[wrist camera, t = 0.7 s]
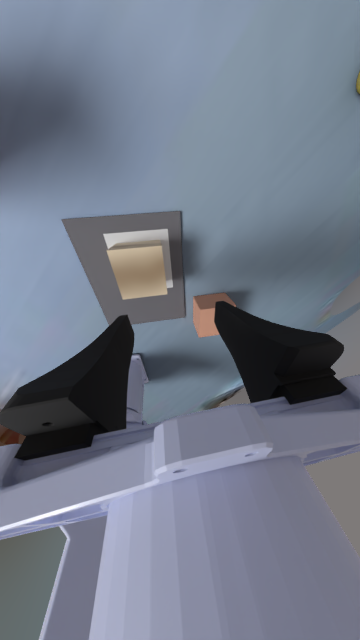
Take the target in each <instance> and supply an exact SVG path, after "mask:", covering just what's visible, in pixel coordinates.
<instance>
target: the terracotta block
mask: <svg viewBox="0 0 360 640" xmlns="http://www.w3.org/2000/svg"><path fill="white" fill-rule="evenodd" d="M217 301H225V302H227V303H229V304H231V305H233V306H235V307H236V304H235V303H234V302H233V301H232V300H231V299H230V298H229V297H228V296H227V295H226V293H218V294H210V295H202V296H193V323H194V325H195V328H196V331H197V333H198V336H199V337H206V336H213V335H220V334H219V332H218V330H217V328H216V325H215V323H214V316H215V304H216V302H217Z"/></svg>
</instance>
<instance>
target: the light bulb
mask: <svg viewBox="0 0 360 640" xmlns="http://www.w3.org/2000/svg"><path fill="white" fill-rule="evenodd" d="M356 89H357V92H358V93H359V94H360V72H359V74H358V78H357V83H356Z"/></svg>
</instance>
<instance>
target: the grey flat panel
mask: <svg viewBox="0 0 360 640" xmlns="http://www.w3.org/2000/svg"><path fill="white" fill-rule="evenodd" d="M61 220H62V222H63V224H64V226H65V229H66V231H67V233H68V235H69V237H70V240H71V242H72V244H73V246H74V249H75V251H76V253H77V255H78V257H79V260H80V262H81V264H82V266H83V268H84V271H85V273H86V275H87V277H88V279H89V282H90V284H91V286H92V288H93V290H94V293H95V295H96V297H97V299H98V301H99V304H100V306H101V308H102V310H103V313H104V315H105V317H106V319H107V321H108V324H109V326H110V325H111V324H112V323H113V322H114V321H115V319H116V318H117V317H119V316H120V315H128V318H129V321H130V323H131V325H132V324H139V323H147V322H154V321H161V320H169V319H176V318H184V317H185V308H184V286H183V264H182V242H181V220H180V211H175V212H160V213H146V214H132V215H118V216H104V217H90V218H75V219H61ZM151 240H160V241H161V245H162V253H163V261H164V269H165V277H166V286H167V294H166V295H157V296H149V297H141V298H132V299H124V300H123V299H122V296H121V293H120V290H119V287H118V284H117V281H116V278H115V275H114V272H113V269H112V266H111V263H110V260H109V257H108V254H107V250H108V249H109V248H111V247H112V246H113V245H114V244H117V243H128V242H140V241H151Z"/></svg>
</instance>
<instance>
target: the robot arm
mask: <svg viewBox="0 0 360 640" xmlns="http://www.w3.org/2000/svg"><path fill="white" fill-rule="evenodd" d="M214 323H215V325H216V328H217V330H218V332H219V334H220V336H221V337H222V339H223V341H224V343H225V344H226V346H227V348H228V349H229V351H230V353H231V355H232V357H233V359H234V361H235V363H236V366H237V368H238V370H239V373H240V375H241V378H242V380H243V383H244V385H245V388H246V391H247V394H248V396H249V399H250V402H251V403H250V404H234V405H229V406H224V407H219V408H214V409H209V410H204V411H199V412H194V413H190V414H185V415H180V416H175V417H172V418H169V419H166V420H164V421H162V422H157V423H152V424H147V423H146V421H142V409H143V392H144V383H148V377H147V374H146V371H145V369H144V366H143V363H142V360H141V357H140V355H139V354H135V355H132V352H133V347H134V332H133V329H132V326H131V323H130V321H129V318H128V315H120V316H119V317H117V318H116V319H115V321H114V322H113V323H112V324H111V325H110V326H109V327H108V328H107V329H106V330H105V331H104V332H103V333H102V334H101V335H100V336H99V337H98V338H97V339H95V340H94V341H93V342H92V343H91V344H90V345H89V346H87V347H86V348H85V349H83V350H82V351H81V352H79V353H78V354H77V355H75V356H74V357H72V358H71V359H69V360H68V361H66V362H65V363H63V364H62V365H60V366H58V367H57V368H55V369H53V370H52V371H50V372H48V373H46V374H45V375H43V376H41V377H39V378H37V379H35V380H33V381H31V382H29V383H28V384H26V385H24V386H22V387H20V388H18V390H17V391H16V392H15V394H14V395H13V396H12V397H11V399H10V400H9V401H8V403H7V404H6V405H5V407H4V408H3V409H2V411H1V412H0V424H1V425H3V426H5V427H7V428H9V429H11V430H13V431H15V432H18V433H20V434H22V435H25V436H26V438H25V440H24V442H23V443H22V444H11V445H6V446H1V447H0V540H1V539H5V538H9V537H13V536H17V535H22V534H26V533H31V532H35V531H39V530H44V529H48V528H52V527H57V526H59V527H60V529H61V530H62V531H63V532H64V534H65V535H66V537H67V540H66V544H65V547H64V551H63V555H62V558H61V562H60V565H59V569H58V573H57V576H56V580H55V583H54V587H53V591H52V594H51V598H50V601H49V605H48V609H47V612H46V616H45V619H44V623H43V627H42V630H41V634H40V637H39V640H360V558H359V556H358V554H357V553H356V551H355V549H354V548H353V546H352V544H351V543H350V541H349V539H348V538H347V536H346V534H345V533H344V531H343V529H342V528H341V526H340V524H339V523H338V521H337V519H336V518H335V516H334V514H333V513H332V511H331V510H330V508H329V506H328V505H327V503H326V501H325V500H324V498H323V496H322V495H321V493H320V491H319V490H318V488H317V486H316V485H315V483H314V481H313V480H312V478H311V476H310V475H309V473H308V471H307V470H306V468H305V466H307V465H311V464H314V463H318V462H322V461H325V460H329V459H332V458H336V457H340V456H344V455H347V454H351V453H355V452H359V451H360V375H355V376H350V377H345V378H342V379H340V380H337V379H336V378H335V377H334V376H333V375H335V374H336V373H335V372H334V371H333V370H332V369H331V368H330V367H331V366H332V365H333V364H334V363H335V362H336V361H337V359H338V358H339V357H340V356H341V355H342V353H343V351H344V345H342V344H341V343H340V342H339V341H337V340H336V339H334V338H333V337H331V336H330V335H328V334H323V333H317V332H311V331H305V330H300V329H295V328H291V327H286V326H283V325H279V324H276V323H272V322H269V321H266V320H264V319H261V318H258V317H256V316H253V315H251V314H249V313H247V312H245V311H243V310H241V309H239V308H237V307H235V306H233V305H231V304H229V303H227V302H225V301H217V302H216V304H215V316H214Z"/></svg>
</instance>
